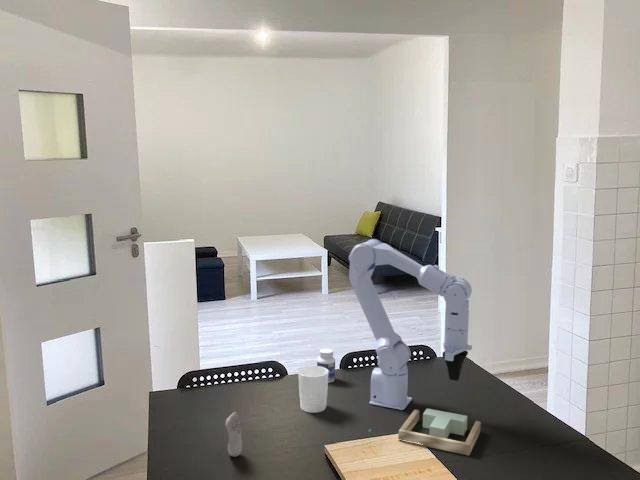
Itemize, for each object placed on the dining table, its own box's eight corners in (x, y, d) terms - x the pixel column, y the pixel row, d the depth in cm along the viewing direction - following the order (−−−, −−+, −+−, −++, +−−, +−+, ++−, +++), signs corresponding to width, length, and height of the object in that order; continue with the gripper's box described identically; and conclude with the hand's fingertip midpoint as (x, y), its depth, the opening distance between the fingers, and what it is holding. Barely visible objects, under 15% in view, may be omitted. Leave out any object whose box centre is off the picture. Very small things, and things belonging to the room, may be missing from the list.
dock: (398, 440, 143) (398, 430, 143) (414, 418, 155) (414, 409, 155) (469, 455, 136) (469, 445, 136) (480, 431, 148) (480, 421, 148)
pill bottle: (330, 384, 177) (330, 354, 175) (314, 381, 179) (314, 352, 178) (337, 378, 182) (338, 349, 180) (321, 375, 184) (321, 346, 182)
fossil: (227, 448, 139) (226, 406, 138) (242, 448, 139) (242, 406, 138) (225, 461, 133) (224, 418, 132) (241, 461, 134) (240, 417, 132)
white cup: (325, 415, 157) (325, 377, 155) (295, 412, 158) (294, 375, 157) (330, 402, 164) (331, 366, 163) (302, 400, 166) (302, 364, 164)
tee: (415, 437, 145) (416, 423, 144) (426, 421, 153) (426, 408, 153) (458, 446, 141) (458, 432, 140) (466, 429, 149) (467, 415, 149)
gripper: (466, 337, 146) (463, 392, 148) (478, 322, 159) (475, 372, 161) (437, 333, 149) (435, 387, 151) (451, 318, 162) (449, 368, 164)
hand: (454, 379), depth 156 cm, fingers closed
